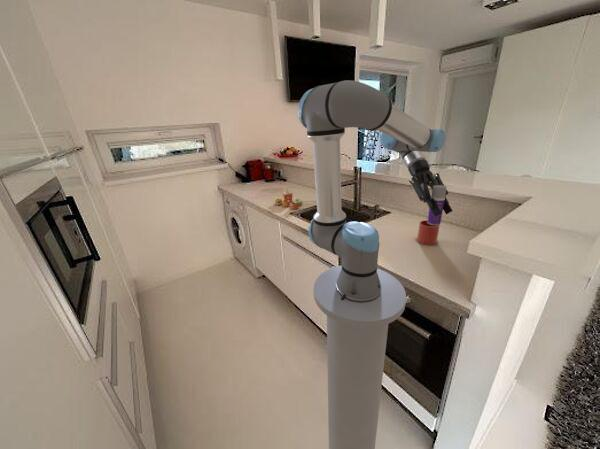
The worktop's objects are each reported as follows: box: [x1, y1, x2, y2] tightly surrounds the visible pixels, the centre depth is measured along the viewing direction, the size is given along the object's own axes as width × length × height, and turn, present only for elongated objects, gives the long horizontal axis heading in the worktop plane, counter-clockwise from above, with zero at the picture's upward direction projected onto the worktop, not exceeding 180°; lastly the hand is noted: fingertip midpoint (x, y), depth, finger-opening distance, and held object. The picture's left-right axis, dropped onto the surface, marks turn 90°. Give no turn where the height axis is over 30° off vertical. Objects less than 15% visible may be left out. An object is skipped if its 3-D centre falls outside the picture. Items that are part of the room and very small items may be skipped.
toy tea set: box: [273, 189, 303, 211], centre depth 179 cm, size 26×16×10 cm, turn 43°
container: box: [427, 185, 447, 225], centre depth 95 cm, size 5×5×15 cm
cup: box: [416, 219, 441, 246], centre depth 115 cm, size 8×8×9 cm
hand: (443, 213), depth 93 cm, fingers closed on container, 5 cm apart
